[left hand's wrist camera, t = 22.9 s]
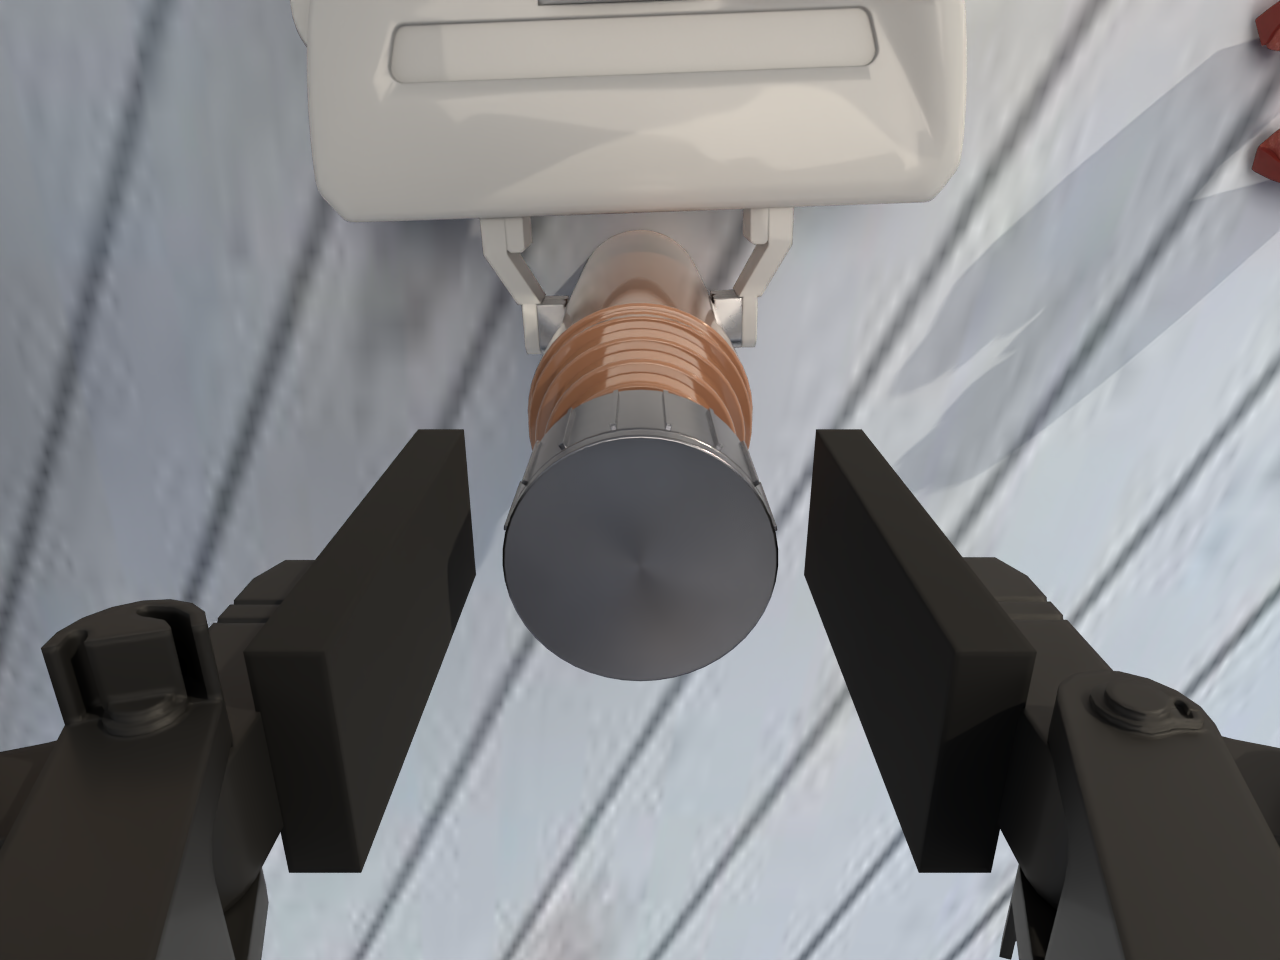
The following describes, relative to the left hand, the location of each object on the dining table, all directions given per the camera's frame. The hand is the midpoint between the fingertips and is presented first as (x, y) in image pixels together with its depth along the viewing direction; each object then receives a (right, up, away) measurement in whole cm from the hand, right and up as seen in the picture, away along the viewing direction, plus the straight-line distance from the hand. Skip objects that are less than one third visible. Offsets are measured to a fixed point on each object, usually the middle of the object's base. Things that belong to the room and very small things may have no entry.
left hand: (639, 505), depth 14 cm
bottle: (0, +8, +21) cm, 23 cm away
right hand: (0, +5, +15) cm, 16 cm away
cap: (0, -1, -2) cm, 2 cm away
